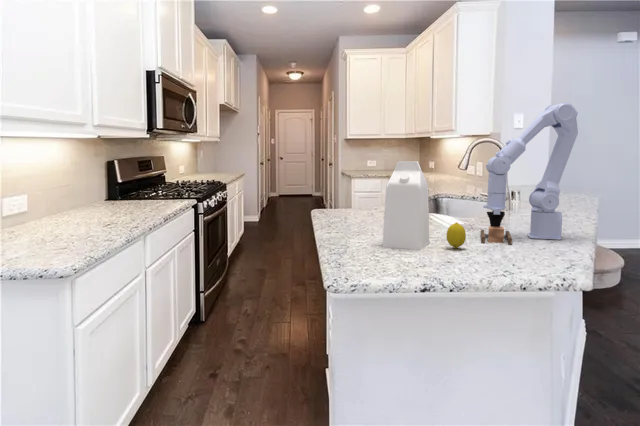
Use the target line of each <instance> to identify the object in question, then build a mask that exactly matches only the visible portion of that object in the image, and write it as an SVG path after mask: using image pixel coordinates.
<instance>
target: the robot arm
mask: <svg viewBox="0 0 640 426" xmlns="http://www.w3.org/2000/svg"><path fill="white" fill-rule="evenodd" d="M577 117H578V111H577V109H576V108H575V106H574V105H573V104H572V103H570V102H561V103H558V104H549V105H548V106H547V107H546V108H545V109H544V110H542V111H540V113H539V114H538V116H536V118H535V119H533V121H532V122H531V123H530V124H529V125H528V127H526V128H525V129H524V131H523V132H522V133H521V134H520V135H519V136H518V137H517V138H511V139H508V140H506V141H505V145H504V146H503V147H502V148H501V149H500V151H496V153H495V156H493V157H490V158H489V159H488V161H487V164H485V168H486V170H487V172H488V179H487V199H486V200H487V201H486V202H487V203H486V204H485V205H483V209H488V210H491V211H487V212H486V214H487V217H488V219H489V224H490V225H489V226H491V227H501V224H502V221H503V219H504V217H505V215H506V213H505V211H503V210H506V208H507V207H506V196H507V175H508V173H507V172H509V171H510V170H511V165H513V163H515V161H516V160H518V158H519V157H521V156H522V154H524V152H525V151H526V149H527V148H526V146H527V144H528V143H529V142H530V141H532V140H533V139H534V138H535V137H536V136H537V135H538V134H539V133H540V132H541V131H542V130H543V129H544V128H548V127H552V128H553V129H554V131H555V132H556V134H557V138H556V140H555V144H554V146H553V148H552V152H551V154H550V156H549V159H548V161H547V165H546V168H545V170H544V173H543V176H542V178H541V181H539V182H538V183H537V184H536V185H535V188H534V190H533V191H532V192H530V195H529V197H528V201H529V202H528V203H529V204H530V206H531V209H530V210H531V212H530V225H529V226H530V227H529V228H530V229H529V232H527V235H528V237H529V239H538V240H539V239H540V240H541V239H543V240H559V241H560V240H562V229H563V228H562V227H563V214H562V213H563V212H562V211H556V209H557V208H558V207H559V204H560V198H559V197H560V193H561V189H560V185H559V184H560V182H561V179H562V176H563V173H564V171H565V169H566V166H567V163H568V161H569V158H570V155H571V154H572V150H573V148H574V145H575V142H576V139H577V137H578V134H579V130H578V129H579V127H578V120H577Z"/></svg>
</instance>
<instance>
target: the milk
mask: <svg viewBox="0 0 640 426" xmlns="http://www.w3.org/2000/svg"><path fill="white" fill-rule="evenodd" d="M429 202H430V201H429V184H428V182H427V179H426V177H425V174H424V172H423V171H422V168H421V166H420V162H419V161H413V160H412V161H411V160H410V161H409V160H408V161H407V160H406V161H404V160H403V161H397V163H396V165H395V168H394V170H393V172H392V174H391V175H390V177H389V179H388V182H387V185H386V188H385V199H384V212H383V214H384V216H383V228H382V246H381V247H382V248H390V249H391V248H392V249H393V248H394V249H402V250H403V249H406V250H415V251H421V249H422V250H423V249H424V248H425V247H426V246H428V245H429V244H430V213H429V212H430V208H429V206H430V205H429ZM427 244H428V245H427Z"/></svg>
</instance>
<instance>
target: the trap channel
mask: <svg viewBox="0 0 640 426" xmlns="http://www.w3.org/2000/svg"><path fill="white" fill-rule="evenodd" d="M512 237H513V236H512V235H511V233H510V231H509V230H505V233H504V239H506V242H507V244H508V245H509V246H510V245H511V246H512V245H513V238H512ZM486 239H488V233H485V229H480V241H481V242H480V243H481V244H485V242H486Z"/></svg>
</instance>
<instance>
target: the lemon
mask: <svg viewBox="0 0 640 426" xmlns="http://www.w3.org/2000/svg"><path fill="white" fill-rule="evenodd" d="M466 239H467V234H466V229H465V227H464V226H463V225H462V224H460V223H458V222H455V223H453V224H451V225H449V227H448V229H447V231H446V241H447V243H448V244H449V246H451V247H453V248H454V250H457V249H458V248H459V247H461V246H463V245H464V243H465V242H466Z"/></svg>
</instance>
